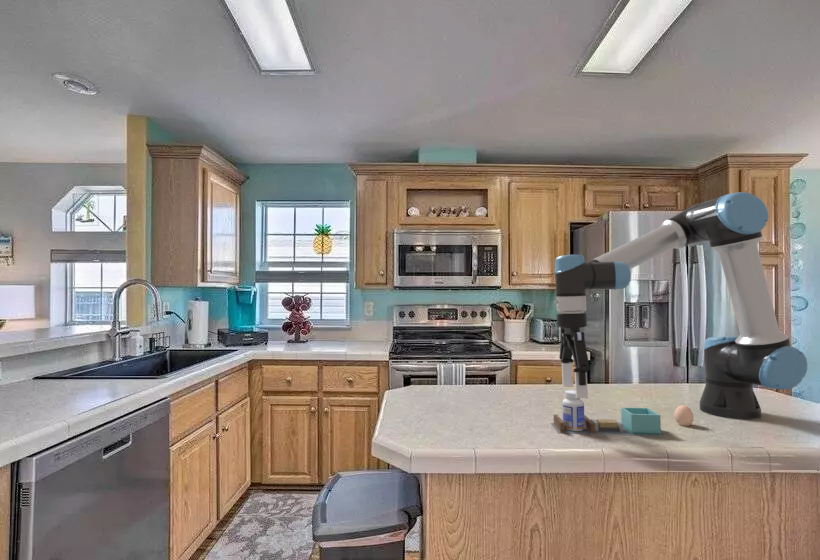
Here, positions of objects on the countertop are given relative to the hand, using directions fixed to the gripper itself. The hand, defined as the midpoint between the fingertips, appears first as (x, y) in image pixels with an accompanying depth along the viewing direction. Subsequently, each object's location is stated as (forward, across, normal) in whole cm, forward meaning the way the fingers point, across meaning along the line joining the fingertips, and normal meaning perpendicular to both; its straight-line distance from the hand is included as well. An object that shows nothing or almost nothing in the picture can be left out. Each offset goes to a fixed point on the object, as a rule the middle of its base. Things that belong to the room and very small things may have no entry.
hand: (574, 392), depth 115 cm
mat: (+10, 0, +7) cm, 13 cm away
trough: (+10, 0, -1) cm, 10 cm away
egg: (+11, -6, +30) cm, 33 cm away
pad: (+9, 0, +8) cm, 12 cm away
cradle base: (+10, 0, +8) cm, 13 cm away
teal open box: (+10, 0, +16) cm, 19 cm away
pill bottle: (+10, 0, -1) cm, 10 cm away
